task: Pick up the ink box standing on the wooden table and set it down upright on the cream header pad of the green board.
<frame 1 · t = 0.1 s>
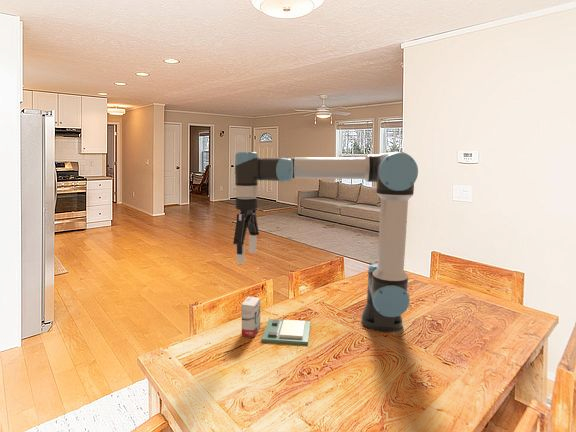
hand: (247, 257, 134), 28 cm above the table, fingers open, 13 cm apart
ink box: (251, 332, 138), on the table
board: (287, 332, 138), on the table
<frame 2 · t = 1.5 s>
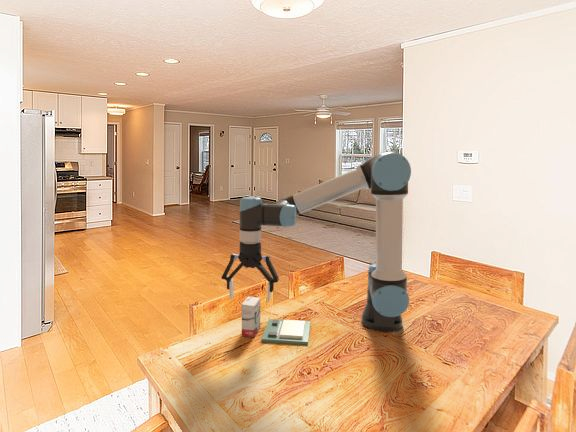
hand: (250, 299, 136), 12 cm above the table, fingers open, 13 cm apart
nothing on the table moved.
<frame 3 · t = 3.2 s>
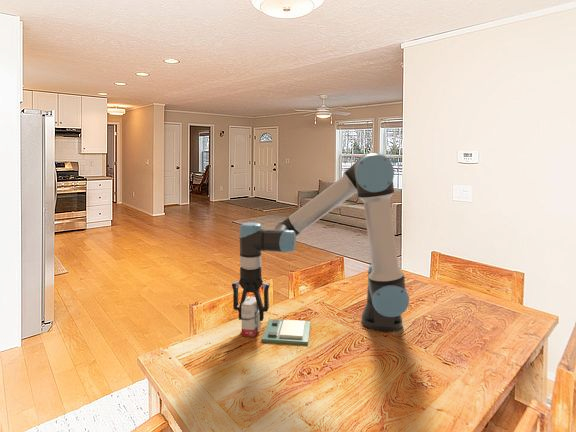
hand: (251, 328, 138), 1 cm above the table, fingers closed on ink box, 5 cm apart
ink box: (251, 331, 138), on the table, touching gripper
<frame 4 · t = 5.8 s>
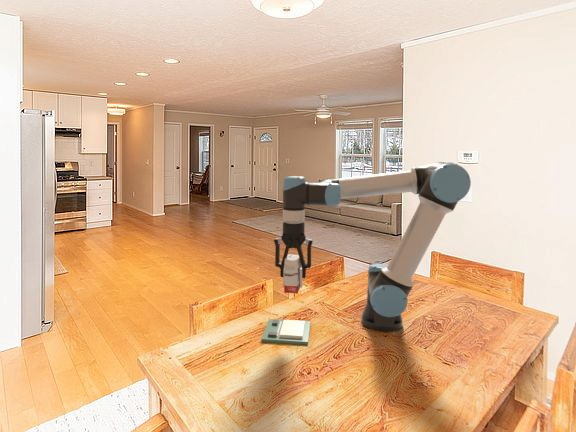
hand: (293, 285, 135), 18 cm above the table, fingers closed on ink box, 5 cm apart
ink box: (292, 289, 135), point 16 cm above the table, touching gripper
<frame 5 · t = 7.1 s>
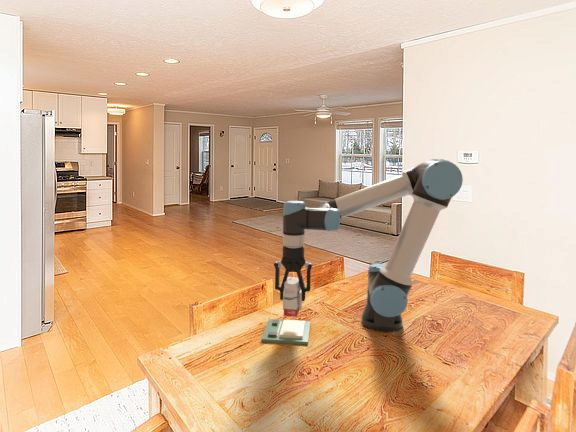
hand: (292, 308, 136), 9 cm above the table, fingers closed on ink box, 5 cm apart
ink box: (292, 312, 136), point 8 cm above the table, touching gripper
when the fingers open (4 cm above the table, at t = 8.4 s): ink box stays where it is, resting on board.
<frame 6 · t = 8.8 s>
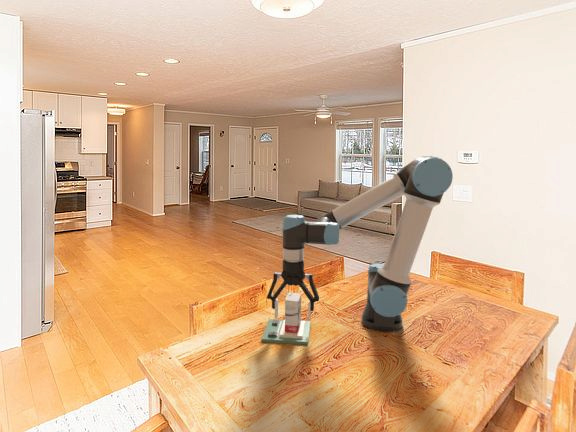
hand: (292, 318, 137), 6 cm above the table, fingers open, 11 cm apart
ink box: (293, 328, 137), point 2 cm above the table, touching board
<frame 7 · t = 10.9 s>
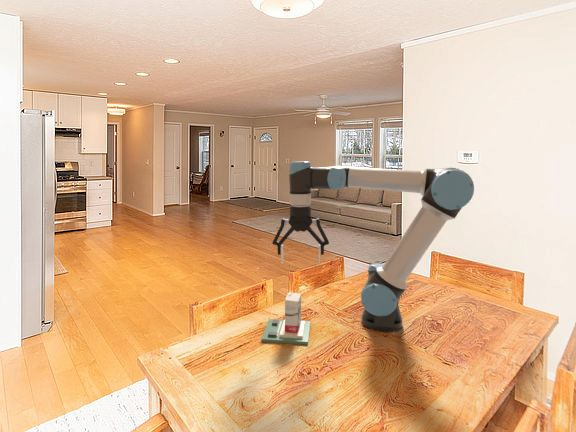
hand: (300, 263, 138), 25 cm above the table, fingers open, 13 cm apart
nothing on the table moved.
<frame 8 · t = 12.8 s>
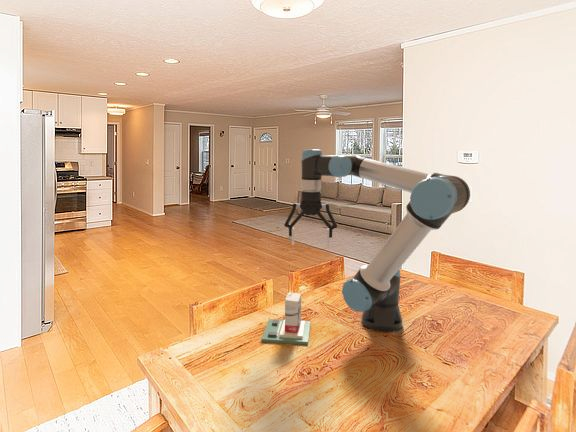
hand: (310, 245, 148), 29 cm above the table, fingers open, 13 cm apart
nothing on the table moved.
at the end: ink box inside the target area (0.4 cm from its centre), point 1.8 cm above the table; ink box tilted 0°; the gripper is holding nothing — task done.
